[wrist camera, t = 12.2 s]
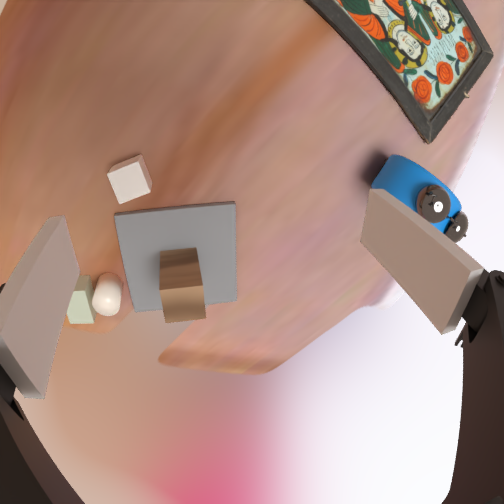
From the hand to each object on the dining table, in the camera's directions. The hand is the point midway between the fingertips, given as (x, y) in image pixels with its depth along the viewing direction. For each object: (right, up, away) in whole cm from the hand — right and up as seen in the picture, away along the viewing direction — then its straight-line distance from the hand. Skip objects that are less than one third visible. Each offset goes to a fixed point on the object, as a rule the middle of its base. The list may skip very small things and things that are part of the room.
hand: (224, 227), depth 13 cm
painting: (+25, +35, +21) cm, 48 cm away
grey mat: (-9, -2, +32) cm, 33 cm away
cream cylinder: (-20, -6, +31) cm, 37 cm away
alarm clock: (+23, +10, +34) cm, 42 cm away
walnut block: (-9, -3, +31) cm, 33 cm away
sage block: (-25, -7, +31) cm, 40 cm away
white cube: (-14, +9, +24) cm, 29 cm away
